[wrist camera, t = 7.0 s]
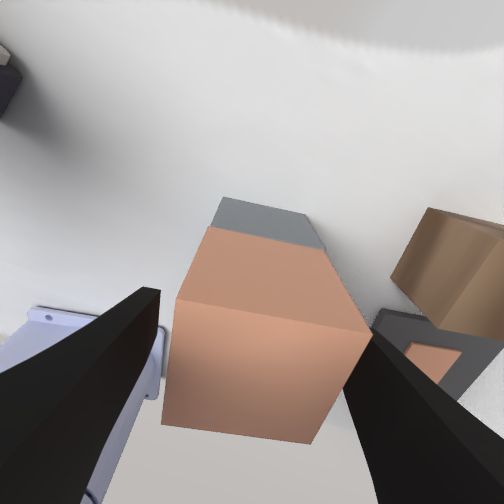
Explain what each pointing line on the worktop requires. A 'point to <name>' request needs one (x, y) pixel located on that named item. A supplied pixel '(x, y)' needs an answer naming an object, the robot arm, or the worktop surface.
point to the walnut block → (456, 273)
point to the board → (438, 349)
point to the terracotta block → (260, 339)
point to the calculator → (7, 79)
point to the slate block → (266, 223)
